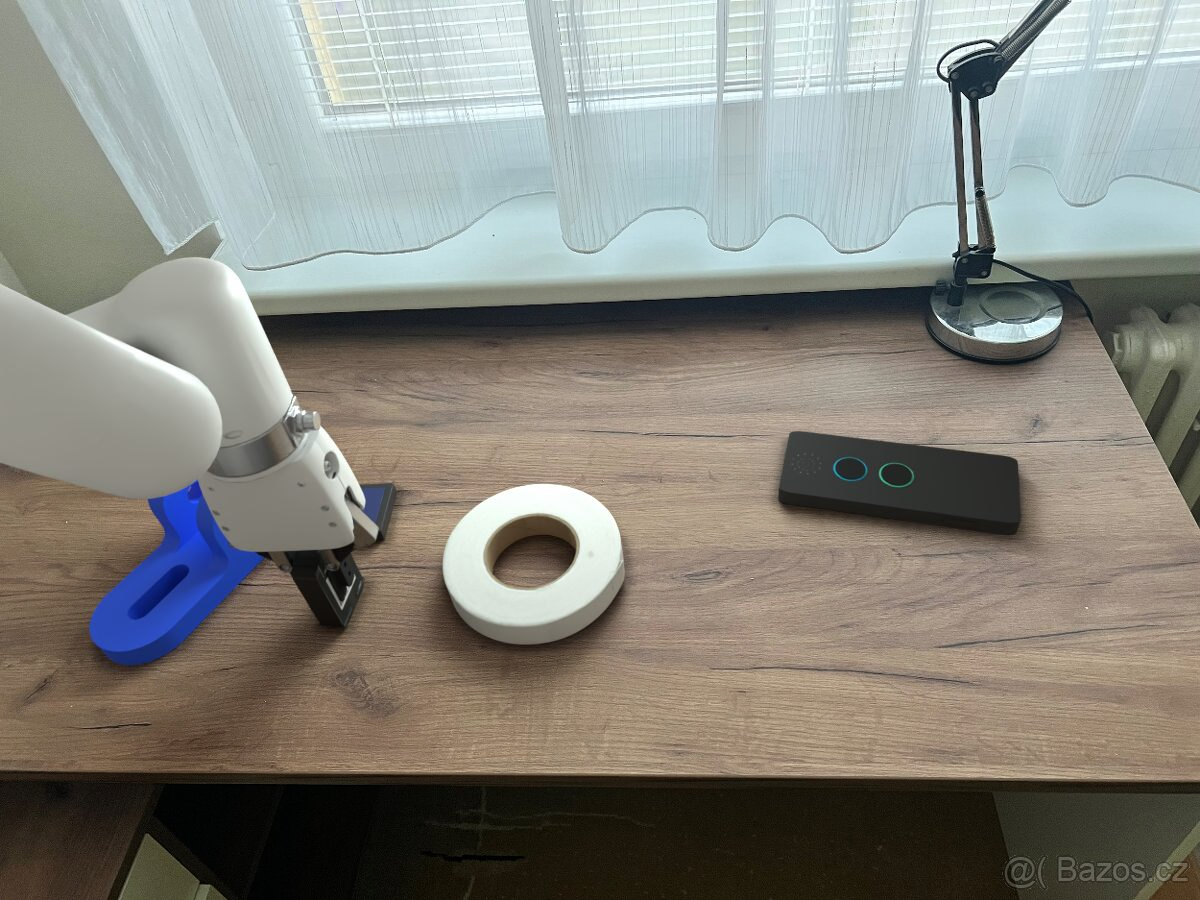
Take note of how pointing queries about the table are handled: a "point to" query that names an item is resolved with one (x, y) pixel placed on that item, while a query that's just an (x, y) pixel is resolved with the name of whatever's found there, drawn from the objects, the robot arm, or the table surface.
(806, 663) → the table surface
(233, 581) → the bracket
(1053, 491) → the table surface
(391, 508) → the ink pad
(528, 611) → the tape roll
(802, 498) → the smart home device
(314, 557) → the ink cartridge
